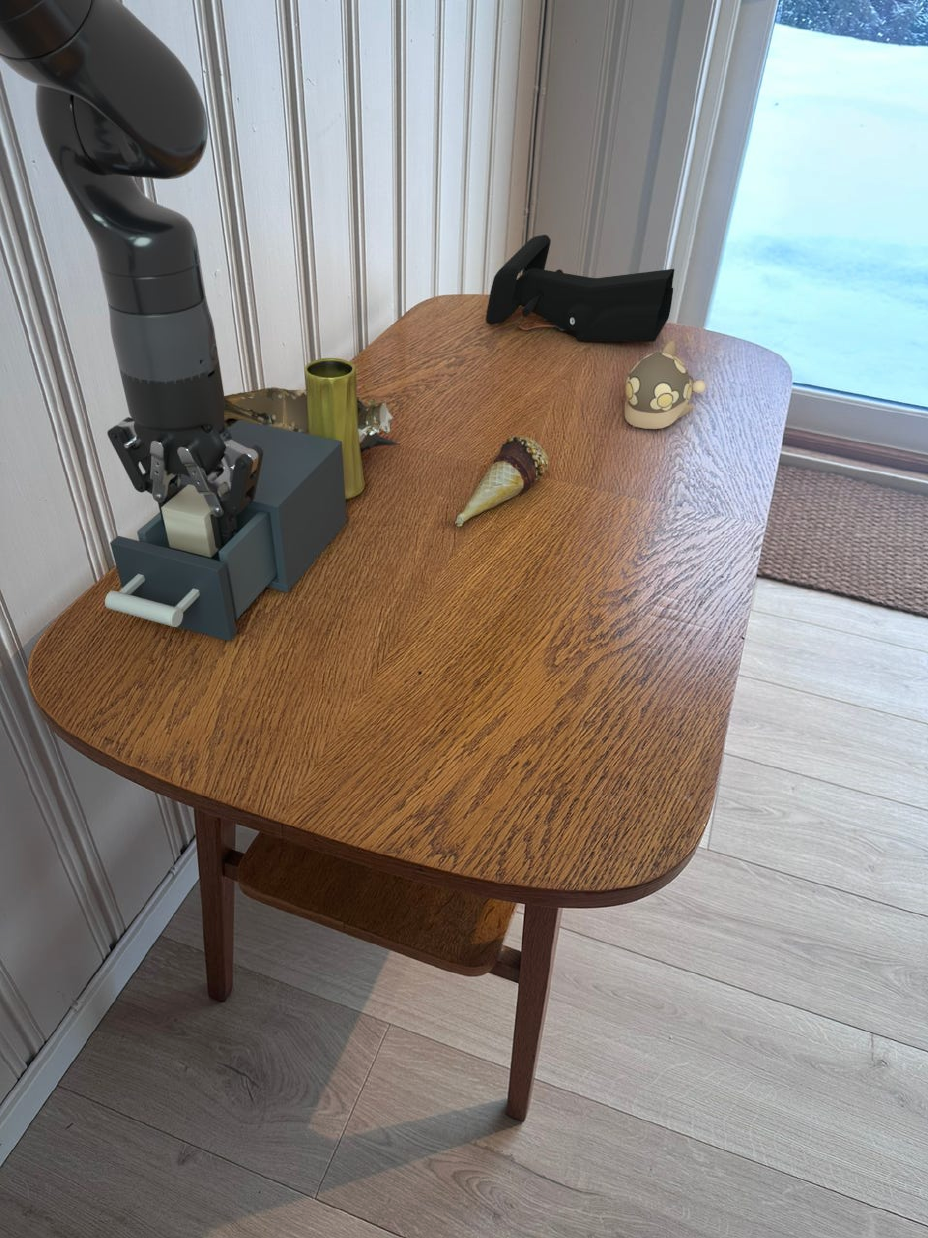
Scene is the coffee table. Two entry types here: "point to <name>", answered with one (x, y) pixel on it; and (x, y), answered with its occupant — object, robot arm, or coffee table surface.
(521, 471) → the ice cream cone
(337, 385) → the vase
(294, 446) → the cabinet
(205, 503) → the block
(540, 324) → the knife
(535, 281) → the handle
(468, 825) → the coffee table surface
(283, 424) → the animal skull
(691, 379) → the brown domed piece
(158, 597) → the drawer
